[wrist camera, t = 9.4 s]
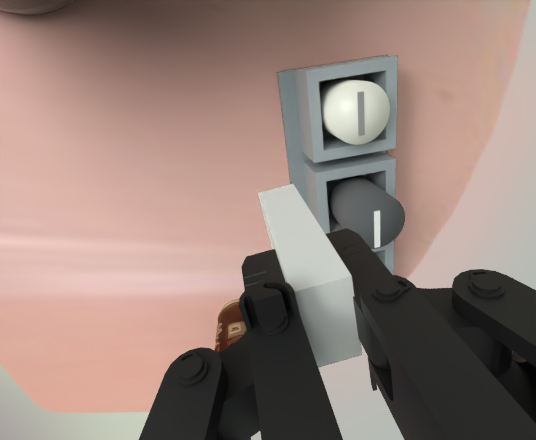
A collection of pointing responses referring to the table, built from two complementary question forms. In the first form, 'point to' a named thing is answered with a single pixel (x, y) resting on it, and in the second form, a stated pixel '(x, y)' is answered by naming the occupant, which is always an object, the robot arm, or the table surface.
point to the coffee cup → (229, 326)
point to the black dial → (366, 210)
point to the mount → (329, 146)
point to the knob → (354, 110)
